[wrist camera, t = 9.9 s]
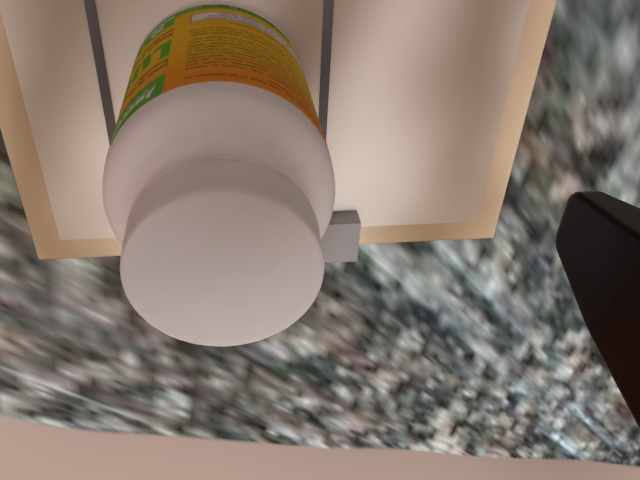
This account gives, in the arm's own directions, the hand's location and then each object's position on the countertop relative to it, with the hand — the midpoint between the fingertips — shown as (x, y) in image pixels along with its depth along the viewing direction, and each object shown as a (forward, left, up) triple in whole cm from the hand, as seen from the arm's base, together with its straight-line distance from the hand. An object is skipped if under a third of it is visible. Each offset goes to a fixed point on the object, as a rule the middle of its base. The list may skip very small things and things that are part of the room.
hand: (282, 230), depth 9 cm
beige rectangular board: (-1, +3, -13) cm, 13 cm away
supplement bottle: (+1, +2, -12) cm, 12 cm away
